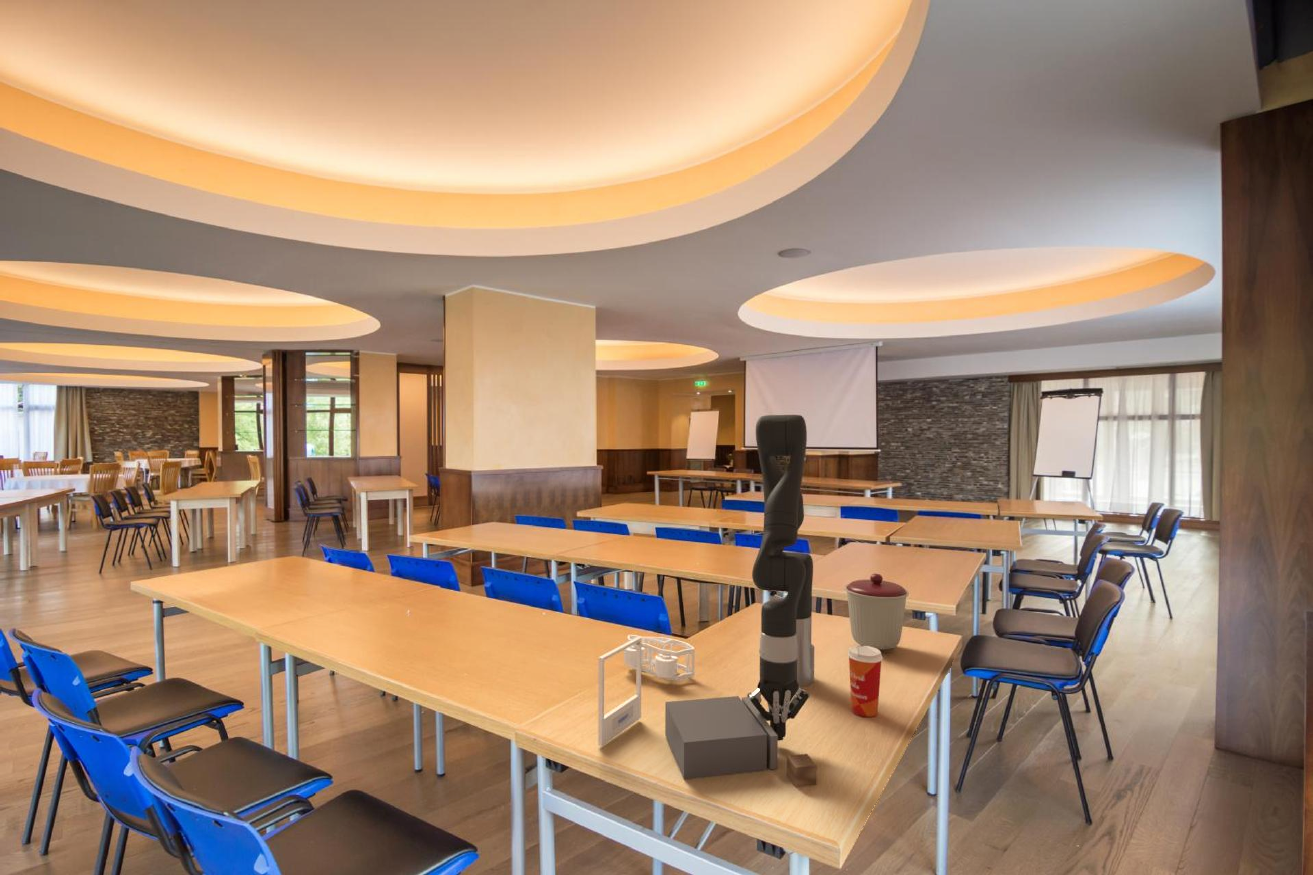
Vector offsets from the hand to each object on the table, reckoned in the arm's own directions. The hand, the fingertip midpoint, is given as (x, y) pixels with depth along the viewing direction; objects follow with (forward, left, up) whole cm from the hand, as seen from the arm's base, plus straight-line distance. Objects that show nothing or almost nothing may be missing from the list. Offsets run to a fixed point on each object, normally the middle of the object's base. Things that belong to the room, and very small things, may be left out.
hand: (777, 738), depth 127 cm
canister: (-51, -51, -2) cm, 73 cm away
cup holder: (+17, -43, -2) cm, 46 cm away
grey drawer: (+13, 0, -2) cm, 13 cm away
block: (+1, +13, -2) cm, 13 cm away
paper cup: (-25, -11, -2) cm, 28 cm away
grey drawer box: (+14, 0, -2) cm, 14 cm away
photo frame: (+31, -12, -2) cm, 33 cm away
